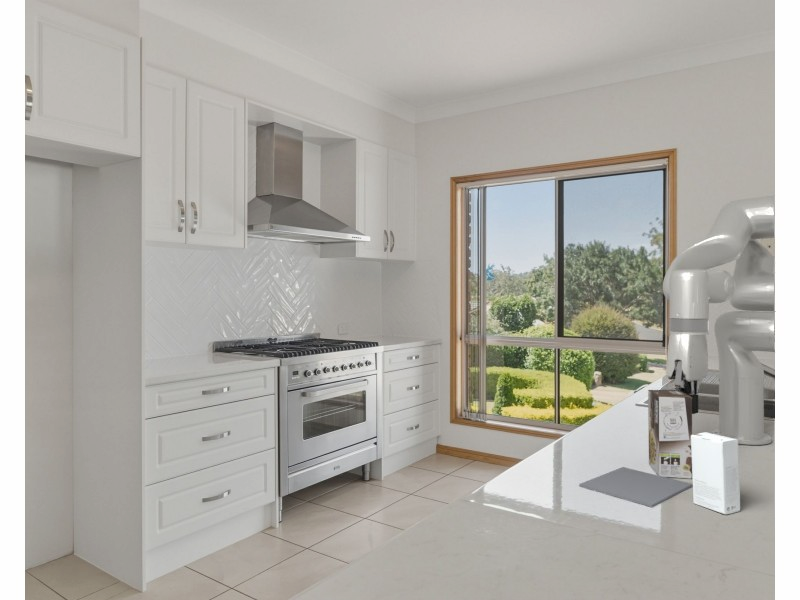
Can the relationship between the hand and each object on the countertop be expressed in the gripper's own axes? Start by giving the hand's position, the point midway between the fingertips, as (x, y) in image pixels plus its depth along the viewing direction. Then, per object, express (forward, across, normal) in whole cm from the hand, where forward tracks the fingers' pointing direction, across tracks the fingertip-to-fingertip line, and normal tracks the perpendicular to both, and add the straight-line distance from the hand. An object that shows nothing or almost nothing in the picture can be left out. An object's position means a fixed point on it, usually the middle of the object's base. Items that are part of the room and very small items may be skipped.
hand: (688, 412), depth 121 cm
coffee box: (+11, +9, 0) cm, 14 cm away
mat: (+11, +23, 0) cm, 25 cm away
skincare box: (+11, +23, +14) cm, 29 cm away
